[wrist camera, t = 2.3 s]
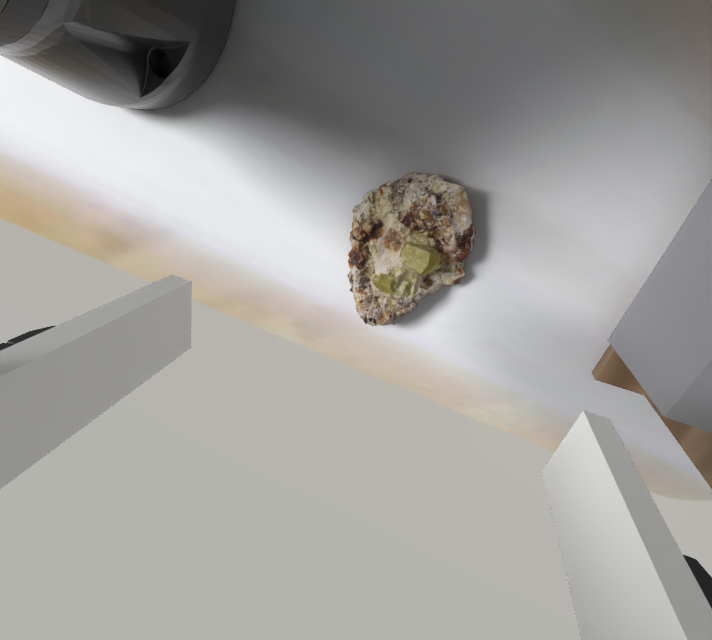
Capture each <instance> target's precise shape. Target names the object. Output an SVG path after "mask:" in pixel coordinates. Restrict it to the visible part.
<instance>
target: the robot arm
mask: <svg viewBox="0 0 712 640" xmlns="http://www.w3.org/2000/svg"><path fill="white" fill-rule="evenodd" d="M234 2H235V0H0V55H1V56H3V57H5V58H7V59H9V60H11V61H13V62H15V63H17V64H19V65H21V66H23V67H25V68H27V69H29V70H31V71H33V72H35V73H37V74H39V75H41V76H43V77H45V78H47V79H49V80H51V81H53V82H55V83H57V84H59V85H61V86H63V87H65V88H67V89H69V90H71V91H73V92H75V93H77V94H79V95H81V96H83V97H85V98H87V99H90V100H93V101H96V102H99V103H102V104H106V105H110V106H117V107H125V108H134V109H159V108H164V107H167V106H170V105H173V104H175V103H177V102H179V101H181V100H183V99H184V98H186V97H187V96H189V95H190V94H191V93H192V92H194V91H195V90H196V89H197V88H198V87H199V86H200V85H201V84H202V83H203V81H204V80H205V79H206V78H207V76H208V75H209V73H210V72H211V71H212V69H213V67H214V66H215V64H216V62H217V60H218V58H219V56H220V54H221V52H222V49H223V47H224V44H225V41H226V38H227V35H228V32H229V28H230V24H231V20H232V15H233V9H234ZM190 348H191V281H189V280H186V279H183V278H180V277H177V276H174V275H170V276H168V277H166V278H163V279H161V280H159V281H157V282H154V283H152V284H150V285H148V286H146V287H143V288H141V289H139V290H136V291H134V292H132V293H130V294H127V295H125V296H123V297H121V298H118V299H116V300H114V301H112V302H109V303H107V304H105V305H103V306H100V307H98V308H96V309H94V310H91V311H89V312H87V313H85V314H82V315H80V316H78V317H76V318H73V319H71V320H69V321H67V322H64V323H62V324H60V325H57V326H51V327H46V328H42V329H38V330H34V331H29V332H27V333H25V334H22V335H20V336H18V337H15V338H13V339H11V340H8V342H7V343H6V344H5V343H2V344H0V489H1V488H2V487H3V486H5V485H6V484H8V483H9V482H10V481H12V480H13V479H14V478H15V477H17V476H18V475H20V474H21V473H22V472H24V471H25V470H26V469H28V468H29V467H31V466H32V465H33V464H35V463H36V462H37V461H39V460H40V459H41V458H43V457H44V456H45V455H47V454H48V453H49V452H51V451H52V450H53V449H55V448H56V447H58V446H59V445H60V444H62V443H63V442H64V441H65V440H67V439H68V438H70V437H71V436H72V435H74V434H75V433H76V432H78V431H79V430H80V429H81V428H83V427H85V426H86V425H87V424H89V423H90V422H91V421H92V420H94V419H95V418H97V417H98V416H99V415H101V414H102V413H103V412H105V411H106V410H107V409H109V408H110V407H111V406H113V405H114V404H115V403H117V402H118V401H120V400H121V399H122V398H124V397H125V396H126V395H128V394H129V393H130V392H132V391H133V390H134V389H136V388H137V387H138V386H140V385H141V384H143V383H144V382H145V381H146V380H148V379H149V378H151V377H152V376H153V375H155V374H156V373H157V372H159V371H160V370H161V369H163V368H164V367H165V366H167V365H168V364H169V363H171V362H172V361H173V360H175V359H176V358H177V357H179V356H180V355H182V354H183V353H184V352H186V351H187V350H188V349H190ZM542 476H543V480H544V484H545V489H546V493H547V497H548V501H549V505H550V510H551V514H552V518H553V522H554V526H555V530H556V535H557V539H558V542H559V546H560V551H561V555H562V560H563V564H564V568H565V572H566V576H567V580H568V584H569V589H570V593H571V597H572V601H573V605H574V609H575V614H576V618H577V622H578V626H579V630H580V635H581V639H582V640H712V577H711V576H710V575H709V574H708V573H707V572H706V571H705V569H704V568H703V567H702V566H701V565H700V564H699V562H698V561H697V560H696V559H693V558H691V557H688V556H685V555H683V554H682V553H681V551H680V549H679V547H678V545H677V543H676V542H675V540H674V538H673V536H672V534H671V532H670V530H669V528H668V527H667V525H666V523H665V521H664V519H663V517H662V515H661V514H660V512H659V510H658V508H657V506H656V504H655V502H654V500H653V499H652V497H651V495H650V493H649V491H648V489H647V487H646V486H645V484H644V482H643V480H642V478H641V476H640V474H639V472H638V471H637V469H636V467H635V465H634V463H633V461H632V459H631V458H630V456H629V454H628V452H627V450H626V448H625V446H624V444H623V443H622V441H621V439H620V437H619V435H618V433H617V431H616V430H615V428H614V426H613V424H612V422H611V420H610V419H608V418H605V417H602V416H599V415H596V414H593V413H590V412H587V411H584V410H583V411H582V413H581V414H580V416H579V417H578V419H577V420H576V422H575V423H574V425H573V426H572V428H571V429H570V431H569V432H568V434H567V435H566V437H565V438H564V440H563V441H562V442H561V444H560V445H559V447H558V448H557V450H556V451H555V453H554V454H553V456H552V457H551V459H550V460H549V462H548V463H547V465H546V466H545V468H544V469H543V471H542Z"/></svg>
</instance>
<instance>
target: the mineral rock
mask: <svg viewBox="0 0 712 640" xmlns="http://www.w3.org/2000/svg"><path fill="white" fill-rule="evenodd" d="M363 199H364V201H363V202H362V203H361V204H359V205H358V206H355V207H354V208H353V213H354V217H353V223H352V229H353V230H352V231H351V233H350V234H351V236H350V241H351V242H352V250H351V251H350V252H349V254H348V256H349V257H350V258H349V260H348V262H349V267H350V269H351V271H350V272H349V274H348V278H349V282H350V284H351V286H352V288H351V289H350V291H352V292H353V293H354V299H355V302H356V309H357V312H358V315H360V317H361V318H362V319H363V320H364V322H365V324H367V323H368V324H370V325H371V326H378V325H388V324H395V321H398V320H399V319H400V318H402V317H403V316H404V315H405V313H408V312H410V310H414V308H415V307H416V306H417V303H418V302H419V301H420V300H421V299H422V298H423V297H424V296H426V295H427V294H432V293H434V292H436V291H438V290H439V288H440V287H441V286H442V285H443V284H445V285H449V286H450V285H454V284H459V283H460V280H461V277H465V270H463V268H464V267H465V259H466V257H467V256H468V255H469V254H470V253H471V252H472V248H473V242H474V236H475V227H474V226H473V223H472V217H471V216H472V209H471V206H470V203H469V199H468V195H467V192H466V190H465V188H464V186H462V185H457V184H456V183H455V184H454V183H449V182H447V181H444V180H443V179H442V176H440V175H436V174H434V175H427V174H425V173H418V174H417V173H415V172H413V173H411V174H407V175H405V177H403V178H401V179H399V180H397V181H394V182H387V183H386V184H384V185H382V186H381V187H380V188H379V190H373V191H370V192H368V193H367V194H366V195H365V196H364V198H363Z"/></svg>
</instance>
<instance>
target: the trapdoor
mask: <svg viewBox="0 0 712 640" xmlns="http://www.w3.org/2000/svg"><path fill="white" fill-rule="evenodd" d="M608 341H609V343H610V344H611V345H612V347H613V348H614V350H615V351H616V352H617V354H618V355H619V356H620V358H621V359H622V360H623V362H624V363H625V364H626V366H627V367H628V369H629V370H630V371H631V373H632V374H633V375H634V377H635V378H636V379H637V381H638V382H639V384H640V385H641V386H642V388H643V389H644V390H645V392H646V393H647V394H648V396H649V397H650V398H651V400H652V401H653V403H654V404H655V405H656V407H657V408H658V409H659V411H660V412H661V413H662V415H663V416H664V417H666V418H669V419H672V420H675V421H678V422H681V423H684V424H687V425H690V426H693V427H697V428H700V429H703V430H706V431H709V432H712V180H711V182H710V183H709V185H708V186H707V188H706V189H705V191H704V192H703V194H702V195H701V197H700V199H699V200H698V202H697V203H696V205H695V206H694V208H693V209H692V211H691V212H690V214H689V216H688V217H687V219H686V220H685V222H684V223H683V225H682V226H681V228H680V229H679V231H678V233H677V234H676V236H675V237H674V239H673V240H672V242H671V243H670V245H669V246H668V248H667V250H666V251H665V253H664V254H663V256H662V257H661V259H660V260H659V262H658V263H657V265H656V267H655V268H654V270H653V271H652V273H651V274H650V276H649V277H648V279H647V280H646V282H645V284H644V285H643V287H642V288H641V290H640V291H639V293H638V294H637V296H636V298H635V299H634V301H633V302H632V304H631V305H630V307H629V308H628V310H627V311H626V313H625V315H624V316H623V318H622V319H621V321H620V322H619V324H618V325H617V327H616V328H615V330H614V332H613V333H612V335H611V336H610V338H609V339H608Z"/></svg>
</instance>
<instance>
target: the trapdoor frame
mask: <svg viewBox="0 0 712 640" xmlns="http://www.w3.org/2000/svg"><path fill="white" fill-rule="evenodd" d="M592 374H593V376H594V378H595V380H598V381H601V382H604V383H607V384H611V385H614V386H617V387H620V388H623V389H626V390H629V391H633V392H636V393H639V394H642V395H645V397H646V398H647V400H648V401H649V402H650V404H651V405H652V407H653V408H654V409H655V411H656V412H657V413H658V415H659V416H660V418H661V419H662V420H663V422H664V423H665V425H666V426H667V427H668V429H669V430H670V432H671V433H672V434H673V436H674V437H675V438H676V440H677V441H678V443H679V444H680V445H681V447H682V448H683V450H684V451H685V452H686V454H687V455H688V457H689V458H690V459H691V461H692V462H693V463H694V465H695V466H696V468H697V469H698V470H699V472H700V473H701V475H702V476H703V477H704V479H705V480H706V481H707V483H708V484H709V486H710V487H711V488H712V432H709V431H706V430H703V429H700V428H697V427H693V426H690V425H687V424H684V423H681V422H678V421H675V420H672V419H669V418H666V417H664V416H663V415H662V413H661V412H660V411H659V409H658V408H657V407H656V405H655V404H654V403H653V401H652V400H651V398H650V397H649V396H648V394H647V393H646V392H645V390H644V389H643V388H642V386H641V385H640V384H639V382H638V381H637V379H636V378H635V377H634V375H633V374H632V373H631V371H630V370H629V369H628V367H627V366H626V364H625V363H624V362H623V360H622V359H621V358H620V356H619V355H618V354H617V352H616V351H615V350H614V348H613V347H612V345H611V344H610V346H609V347H608V349H607V350H606V352H605V353H604V355H603V356H602V358H601V360H600V361H599V363H598V364H597V366H596V367H595V369H594V370H593V372H592Z"/></svg>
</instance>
